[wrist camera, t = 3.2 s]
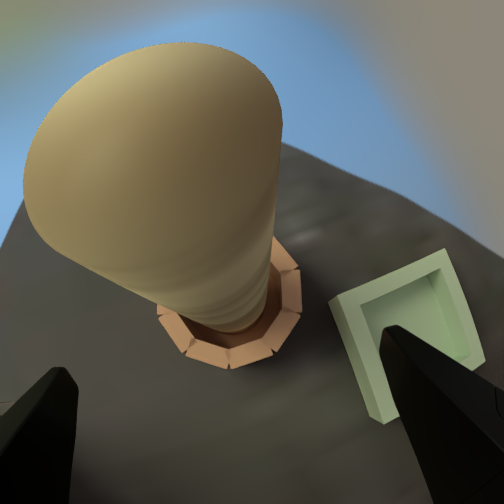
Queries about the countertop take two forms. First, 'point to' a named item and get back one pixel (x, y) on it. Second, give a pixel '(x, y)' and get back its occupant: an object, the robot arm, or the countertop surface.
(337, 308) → the tray
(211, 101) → the dowel
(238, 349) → the holder
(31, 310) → the countertop surface
